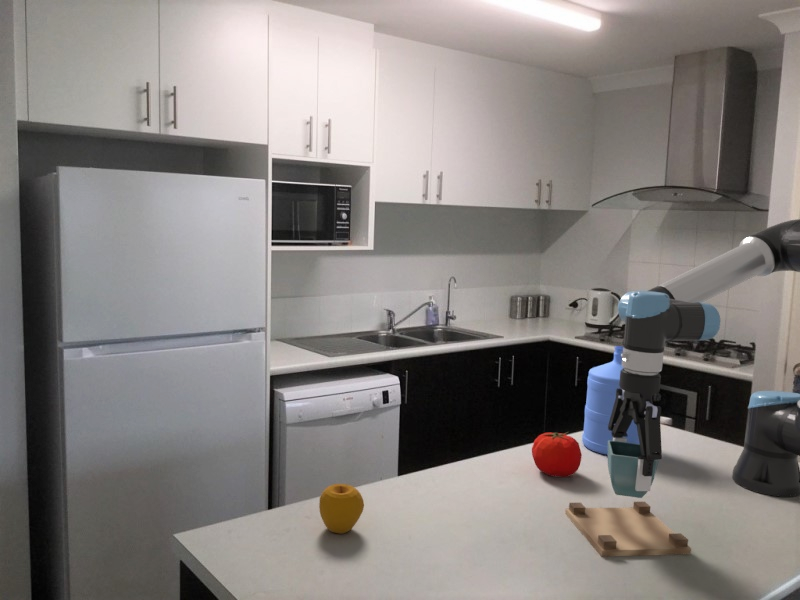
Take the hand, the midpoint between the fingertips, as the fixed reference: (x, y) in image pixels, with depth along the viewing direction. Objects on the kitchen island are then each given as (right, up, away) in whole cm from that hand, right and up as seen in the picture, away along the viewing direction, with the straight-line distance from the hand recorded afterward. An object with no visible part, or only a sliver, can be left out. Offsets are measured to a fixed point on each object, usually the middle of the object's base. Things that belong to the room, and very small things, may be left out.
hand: (629, 479), depth 139 cm
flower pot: (0, -3, 0) cm, 3 cm away
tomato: (-8, -7, +32) cm, 33 cm away
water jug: (+12, -5, +53) cm, 54 cm away
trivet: (0, -11, +2) cm, 11 cm away
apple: (-57, -9, -3) cm, 58 cm away
